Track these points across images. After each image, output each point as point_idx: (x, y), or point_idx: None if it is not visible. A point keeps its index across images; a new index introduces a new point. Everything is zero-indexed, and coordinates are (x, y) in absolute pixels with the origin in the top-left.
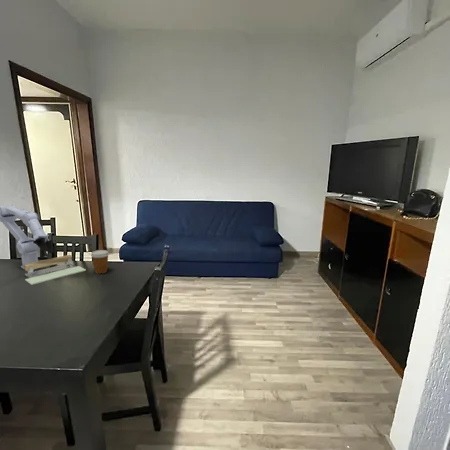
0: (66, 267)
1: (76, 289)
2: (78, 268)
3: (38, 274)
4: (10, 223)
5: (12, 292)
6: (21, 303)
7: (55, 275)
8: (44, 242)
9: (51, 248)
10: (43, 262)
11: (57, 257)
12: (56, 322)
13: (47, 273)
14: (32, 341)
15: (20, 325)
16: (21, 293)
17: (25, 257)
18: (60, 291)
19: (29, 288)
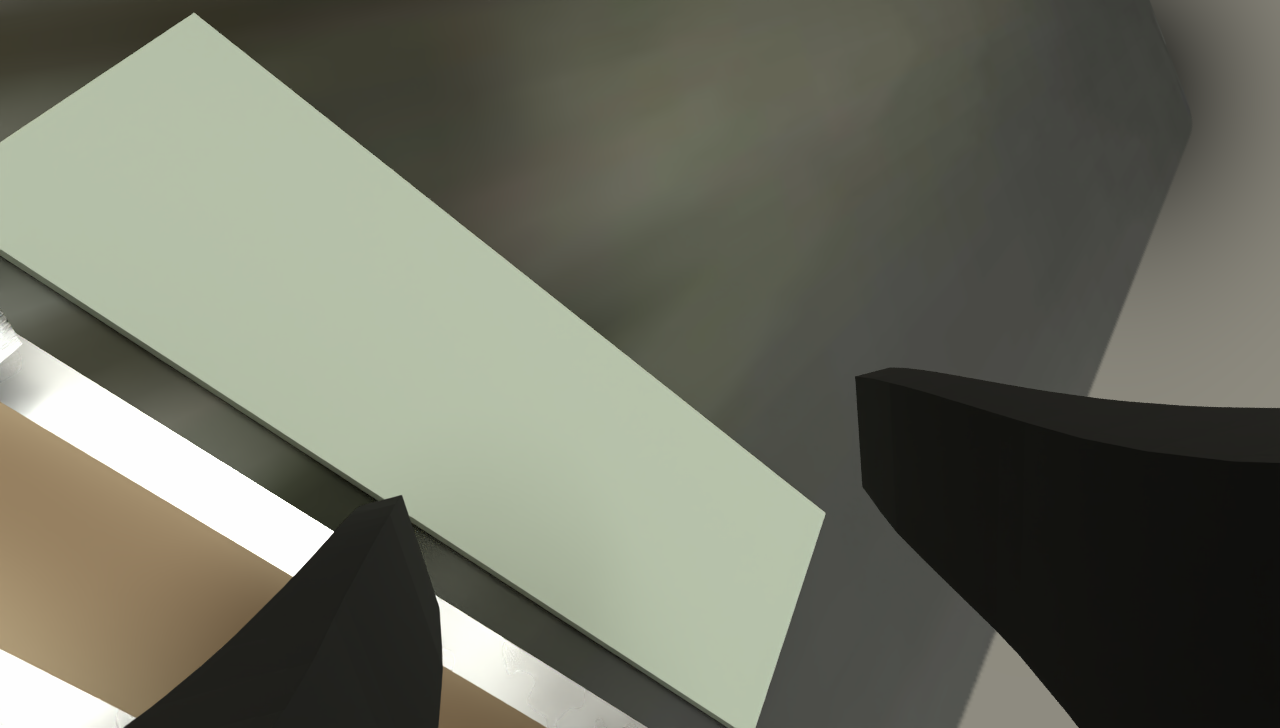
0: (92, 411)
1: (764, 29)
2: (130, 152)
3: (570, 693)
4: None
5: None
6: (1023, 335)
7: (540, 387)
8: (1167, 408)
9: (375, 603)
10: (515, 710)
11: (17, 626)
12: (1043, 44)
13: (449, 610)
14: (1128, 91)
15: (1111, 193)
16: None
17: None
18: (827, 146)
19: None
